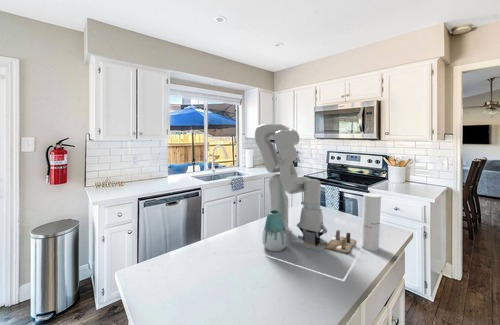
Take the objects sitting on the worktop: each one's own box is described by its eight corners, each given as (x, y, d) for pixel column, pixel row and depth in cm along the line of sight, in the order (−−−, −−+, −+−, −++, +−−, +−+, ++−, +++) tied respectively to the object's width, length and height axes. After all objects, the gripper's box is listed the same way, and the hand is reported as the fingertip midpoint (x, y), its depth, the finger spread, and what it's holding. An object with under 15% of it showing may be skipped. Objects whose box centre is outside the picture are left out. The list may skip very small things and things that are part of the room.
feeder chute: (291, 244, 118) (291, 240, 118) (298, 238, 125) (298, 235, 124) (321, 252, 110) (321, 248, 109) (327, 246, 116) (327, 242, 116)
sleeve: (304, 245, 116) (304, 231, 115) (308, 241, 120) (308, 227, 119) (314, 248, 113) (314, 233, 112) (318, 244, 117) (318, 230, 116)
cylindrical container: (380, 251, 110) (383, 197, 107) (363, 250, 112) (365, 196, 109) (375, 244, 117) (378, 193, 114) (359, 243, 119) (361, 192, 116)
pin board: (323, 249, 113) (324, 237, 112) (334, 237, 126) (334, 226, 125) (348, 255, 107) (348, 243, 106) (356, 242, 120) (357, 231, 119)
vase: (277, 257, 106) (277, 217, 104) (257, 249, 114) (256, 211, 112) (292, 247, 115) (292, 210, 113) (272, 240, 123) (272, 206, 121)
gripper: (291, 204, 116) (291, 241, 118) (327, 211, 106) (326, 250, 108) (298, 201, 122) (298, 236, 124) (332, 206, 112) (331, 244, 114)
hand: (311, 242), depth 116 cm, fingers closed on sleeve, 5 cm apart
